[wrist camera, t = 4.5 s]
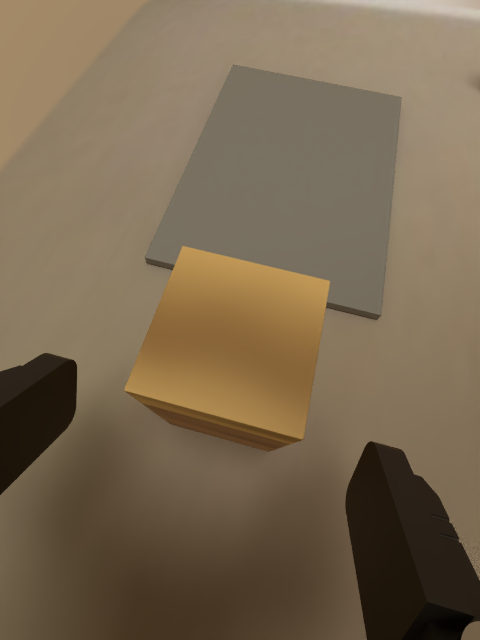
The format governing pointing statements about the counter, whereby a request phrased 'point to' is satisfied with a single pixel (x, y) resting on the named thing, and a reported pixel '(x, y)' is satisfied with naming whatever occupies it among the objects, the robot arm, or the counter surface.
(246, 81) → the mat
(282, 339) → the block
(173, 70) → the counter surface
